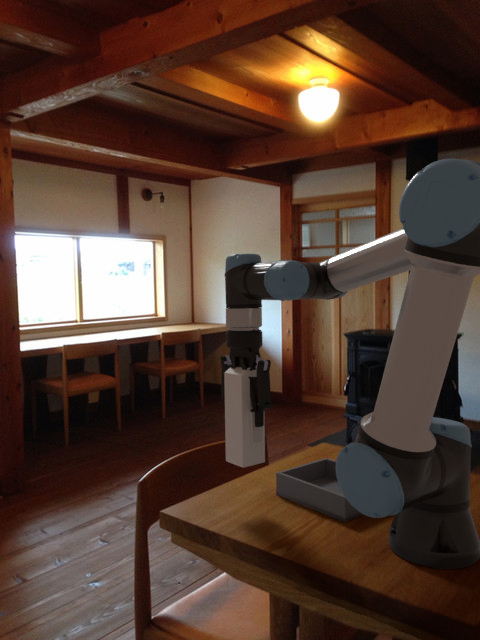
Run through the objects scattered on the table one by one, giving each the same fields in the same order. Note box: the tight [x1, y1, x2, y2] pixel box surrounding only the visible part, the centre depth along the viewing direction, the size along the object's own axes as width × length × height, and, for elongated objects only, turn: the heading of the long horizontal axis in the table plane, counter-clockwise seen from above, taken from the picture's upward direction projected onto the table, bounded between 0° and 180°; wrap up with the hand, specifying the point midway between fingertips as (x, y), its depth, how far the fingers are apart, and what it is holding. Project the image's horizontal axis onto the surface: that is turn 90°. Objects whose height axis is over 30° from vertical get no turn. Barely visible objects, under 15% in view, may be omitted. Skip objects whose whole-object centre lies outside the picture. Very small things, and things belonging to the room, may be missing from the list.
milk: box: [224, 367, 266, 468], centre depth 115 cm, size 6×6×22 cm
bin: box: [275, 457, 365, 523], centre depth 121 cm, size 20×17×5 cm
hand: (245, 438), depth 116 cm, fingers closed on milk, 6 cm apart
